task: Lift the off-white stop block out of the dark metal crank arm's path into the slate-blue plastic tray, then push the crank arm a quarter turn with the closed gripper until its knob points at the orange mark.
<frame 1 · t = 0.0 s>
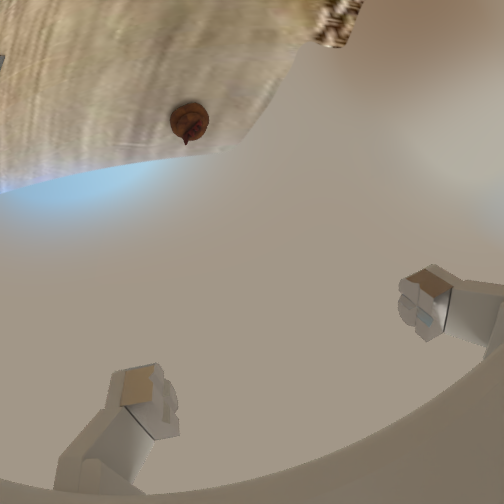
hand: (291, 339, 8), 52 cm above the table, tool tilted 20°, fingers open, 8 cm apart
wooden figurine: (187, 115, 50), on the table
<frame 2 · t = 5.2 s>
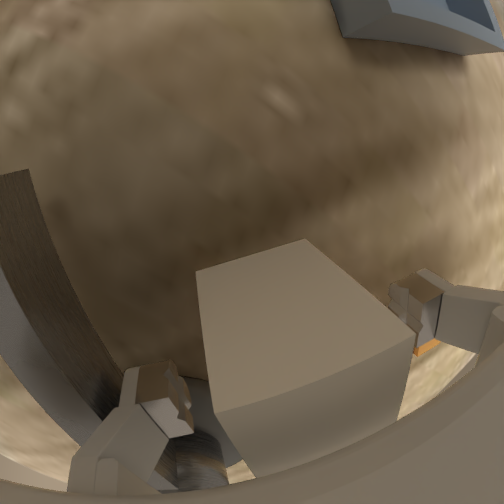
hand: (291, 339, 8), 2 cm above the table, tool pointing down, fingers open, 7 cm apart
crank arm: (105, 422, 7), point 4 cm above the table, hinge at 0.0°
stop block: (263, 302, 11), on the table
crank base: (174, 427, 12), on the table
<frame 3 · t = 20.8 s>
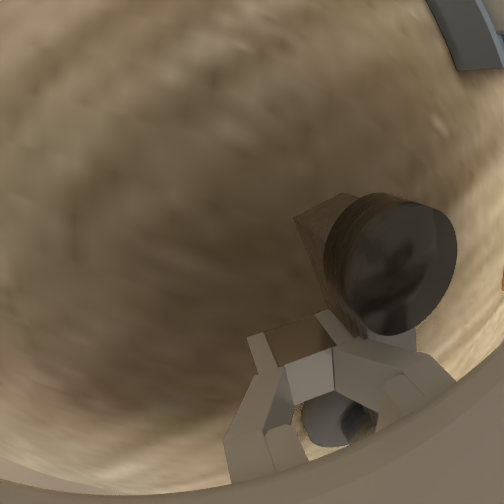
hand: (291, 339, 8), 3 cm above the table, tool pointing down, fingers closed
crank arm: (386, 388, 9), point 4 cm above the table, hinge at -0.3°, touching gripper
stop block: (469, 4, 7), point 1 cm above the table, touching tray
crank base: (363, 394, 15), on the table
tray: (462, 6, 8), on the table
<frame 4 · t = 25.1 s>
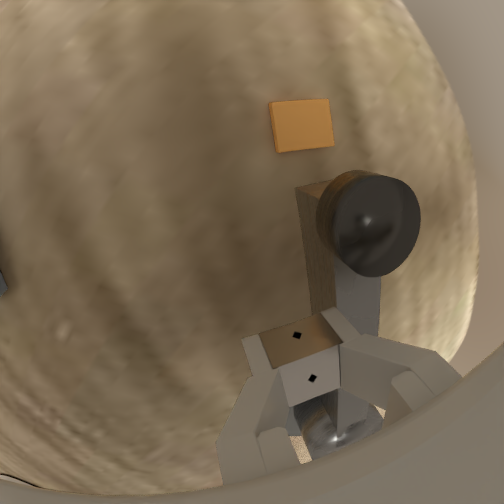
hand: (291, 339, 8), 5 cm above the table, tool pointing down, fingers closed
crank arm: (346, 366, 11), point 4 cm above the table, hinge at -87.3°, touching gripper
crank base: (319, 386, 17), on the table
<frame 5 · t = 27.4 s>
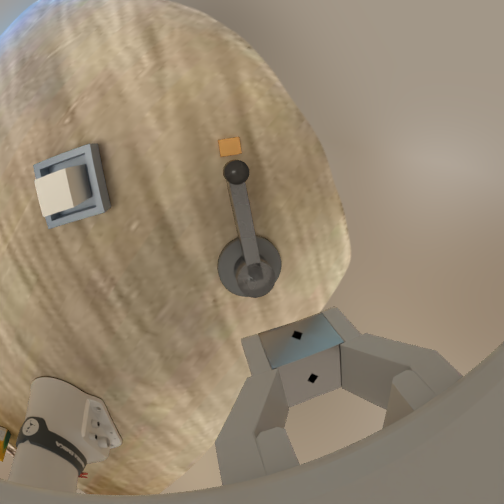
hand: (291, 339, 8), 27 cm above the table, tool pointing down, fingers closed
crank arm: (245, 231, 32), point 4 cm above the table, hinge at -87.7°
stop block: (74, 185, 28), point 1 cm above the table, touching tray
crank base: (248, 264, 37), on the table
tray: (75, 184, 29), on the table
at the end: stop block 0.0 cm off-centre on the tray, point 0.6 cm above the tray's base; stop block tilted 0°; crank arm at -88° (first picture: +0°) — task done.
